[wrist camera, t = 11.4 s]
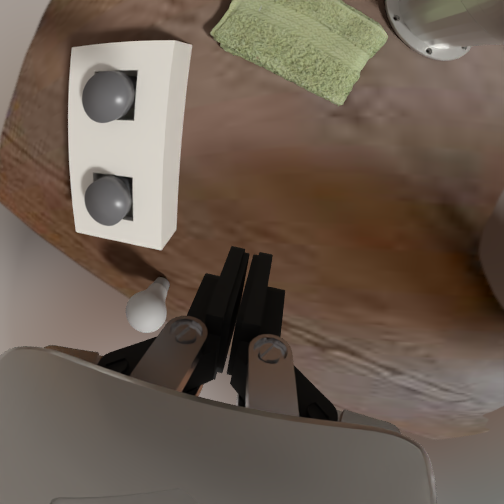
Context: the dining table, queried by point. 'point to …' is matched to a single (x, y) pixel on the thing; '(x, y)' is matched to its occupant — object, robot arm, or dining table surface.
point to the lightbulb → (148, 307)
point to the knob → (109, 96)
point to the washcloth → (303, 41)
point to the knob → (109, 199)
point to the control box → (131, 137)
